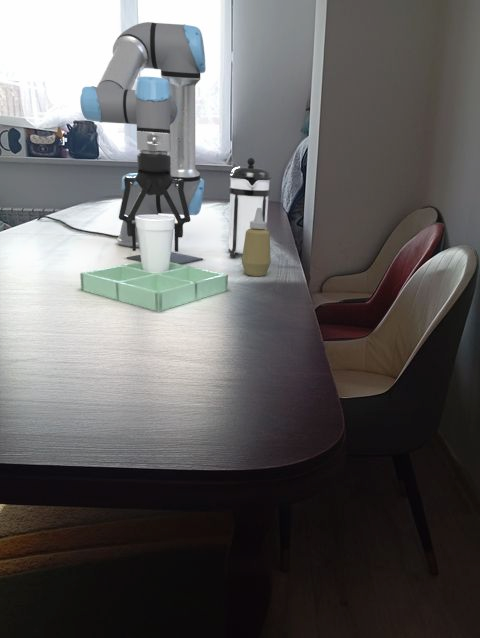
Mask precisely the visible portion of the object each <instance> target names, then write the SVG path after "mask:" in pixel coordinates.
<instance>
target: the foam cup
mask: <svg viewBox="0 0 480 638" xmlns="http://www.w3.org/2000/svg"><path fill="white" fill-rule="evenodd" d="M175 220H176V218H175V216H170V215H167V214H158V215H138V216H135V227H136V230H137V237H138V243H139V255H140V256H141V261H140V262H142V268H143V270H145V271H149V272H153V273H160V272H164V271H169V263H170V255H171V252H172V245H173V240H174V239H173V237H174V232H175V229H174V228H175V223H176V221H175Z"/></svg>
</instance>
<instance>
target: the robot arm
mask: <svg viewBox="0 0 480 638" xmlns="http://www.w3.org/2000/svg"><path fill="white" fill-rule="evenodd" d="M205 52H206V51H205V46H204V39H203V33H202V31H201V29H200V28H199V27H197V26H195V25H189V24H185V23H184V24H179V23H163V22H151V21H147V22H145V21H144V22H141V23H137V24H134V25H132V26H130V27H129V28H127V29H126V30H124V31H123V32H122V33H120V34H119V36H118V37H117V38H116V40H115V41H114V42H113V46H112V56H111V58H110V59H109V62H108V64H107V66H106V68H105V70H104V72H103V74H102V77H100V80H99V82H98V84H97V86H95V85H91V86H84V87H82V88H81V90H80V95H79V96H80V97H79V102H80V104H79V105H80V110H81V114H82V116H83V117H84V119H86V120H87V121H90V122H95V123H99V124H100V123H101V124H102V123H108V124H109V123H110V124H126V125H136V149H137V151H139V153H138V154H137V155H136V156H137V157H136V159H137V162H136V163H137V172H136V173H135V172H134V173H126V174H124V175H123V176H122V178H121V205H120V208H119V214H118V219H119V221H122V224H121V227H120V232H119V234H118V235H114V234H109V233H105V232H99V231H91V230H85V229H82V228H77V227H73V226H72V225H70V224H68V223H66V222H65V221H63V220H61V219H57V218H53V217H51V216H48V215H41V216H39V217H38V218H37V220H38V221H39V220H41V219H44V218H45V219H49V220H51V221H55V222H59V223H61V224H63V225H65V226H66V227H67V228H70V229H71V230H75V231H78V232H82V233H86V234H93V235H100V236H106V237H111V238H117V244H118V245H120V246H122V247H128V248H132V252H137V248H139V243H138V237H137V230H136V227H135V216H138V215H173V217H174V218H175V220H176V222H175V228H174V253H179V239H180V238H182V239H183V236H184V224H186V223H190V222H191V216H197V215H199V214H200V213H201V209H202V205H203V198H204V191H205V180H204V179H203V178H201V173H200V172H199V170H198V169H197V168H196V85H197V84H198V83H199V81H200V80H201V74H204V73H205V72H206V53H205ZM144 69H151V70H152V69H153V70H159V71H160V77H158V76H157V77H156V76H138V75H139V74H140V72H142V71H143V70H144ZM134 85H135V89H133V88H134ZM181 216H183V217H181Z"/></svg>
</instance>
